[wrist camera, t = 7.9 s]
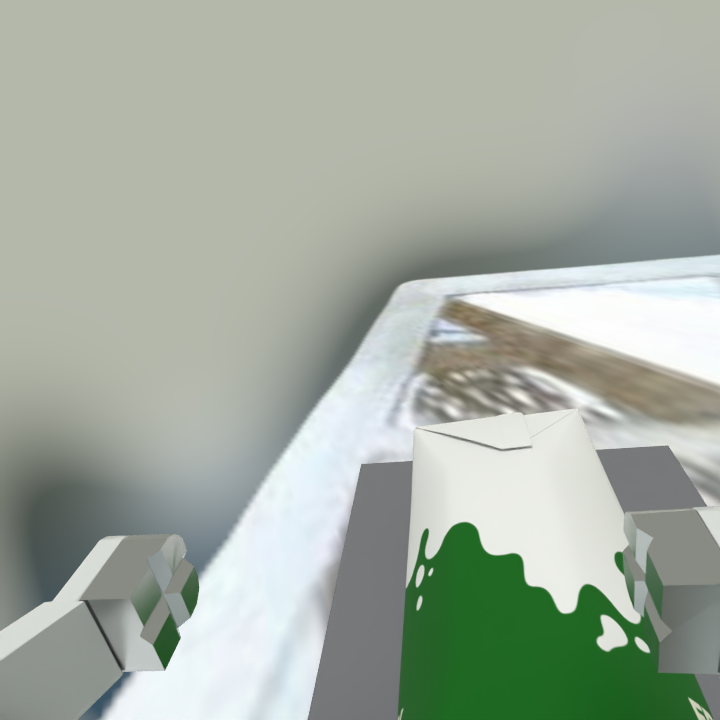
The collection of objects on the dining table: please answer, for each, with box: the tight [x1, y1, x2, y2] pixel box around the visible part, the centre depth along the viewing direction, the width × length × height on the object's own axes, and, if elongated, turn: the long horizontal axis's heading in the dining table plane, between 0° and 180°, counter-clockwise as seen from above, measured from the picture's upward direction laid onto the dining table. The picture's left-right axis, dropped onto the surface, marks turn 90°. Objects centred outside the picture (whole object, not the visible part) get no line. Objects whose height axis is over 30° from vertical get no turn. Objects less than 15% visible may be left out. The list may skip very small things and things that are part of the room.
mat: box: [308, 446, 720, 720], centre depth 26 cm, size 20×24×1 cm
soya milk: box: [398, 409, 714, 720], centre depth 21 cm, size 9×9×20 cm
